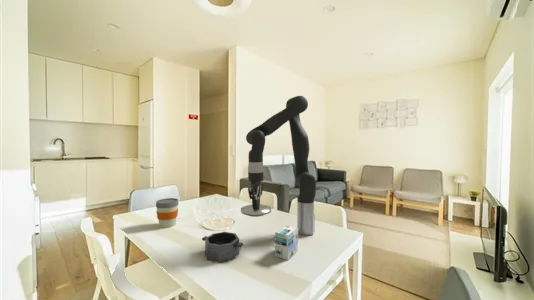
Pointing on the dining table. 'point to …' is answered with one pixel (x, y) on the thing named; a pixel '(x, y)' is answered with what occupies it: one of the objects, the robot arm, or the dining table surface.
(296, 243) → the light bulb box
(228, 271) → the dining table surface
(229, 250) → the pot
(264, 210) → the lid
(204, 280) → the dining table surface
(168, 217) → the reusable coffee cup
